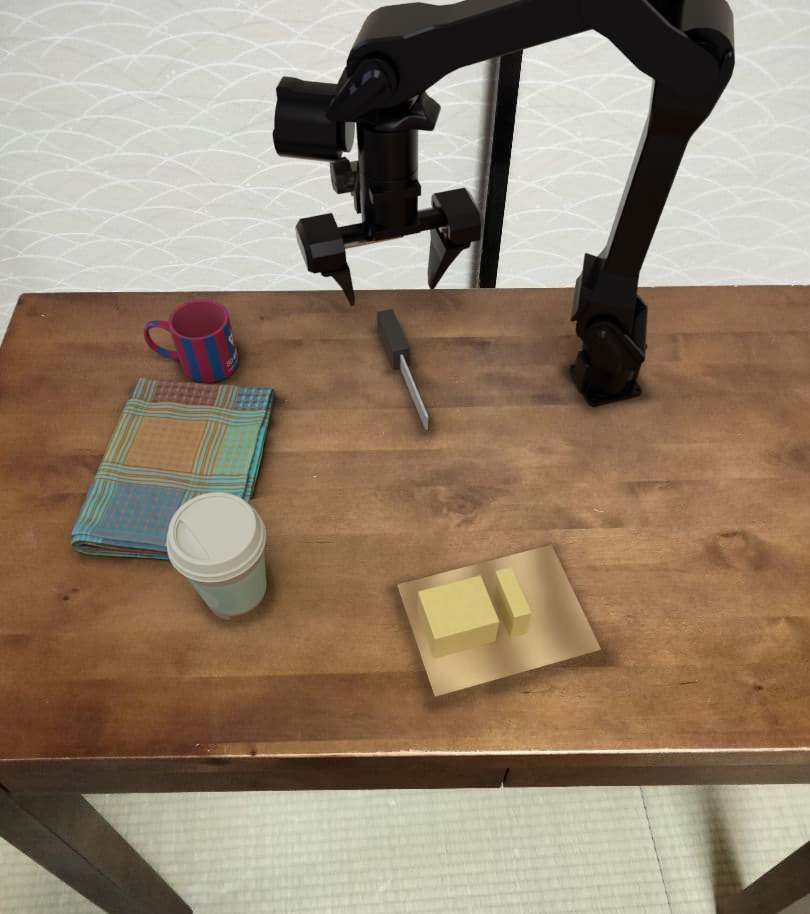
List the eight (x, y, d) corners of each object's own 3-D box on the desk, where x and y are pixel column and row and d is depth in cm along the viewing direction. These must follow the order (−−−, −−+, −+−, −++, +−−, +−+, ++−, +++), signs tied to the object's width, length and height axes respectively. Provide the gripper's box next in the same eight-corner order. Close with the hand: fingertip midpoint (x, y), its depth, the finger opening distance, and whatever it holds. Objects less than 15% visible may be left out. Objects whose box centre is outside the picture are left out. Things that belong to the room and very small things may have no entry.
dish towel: (69, 555, 82) (60, 542, 80) (135, 386, 95) (129, 370, 93) (237, 570, 81) (232, 557, 79) (280, 397, 94) (278, 381, 92)
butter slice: (507, 588, 78) (511, 566, 75) (526, 633, 75) (531, 612, 72) (491, 592, 78) (495, 570, 74) (510, 637, 75) (514, 617, 72)
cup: (231, 386, 95) (220, 342, 89) (148, 379, 95) (131, 334, 90) (244, 346, 98) (234, 301, 93) (164, 339, 99) (149, 294, 93)
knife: (393, 327, 100) (392, 308, 98) (435, 428, 91) (436, 409, 89) (377, 330, 100) (376, 311, 97) (418, 432, 91) (418, 413, 88)
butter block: (477, 596, 78) (480, 574, 74) (495, 641, 75) (499, 621, 72) (417, 612, 77) (417, 591, 73) (433, 659, 74) (434, 639, 71)
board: (549, 552, 82) (551, 544, 81) (598, 656, 76) (601, 649, 74) (397, 592, 80) (396, 584, 78) (434, 703, 73) (434, 696, 72)
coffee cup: (195, 560, 81) (165, 490, 71) (281, 554, 82) (263, 483, 72) (190, 637, 77) (157, 574, 67) (281, 630, 77) (262, 566, 67)
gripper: (453, 104, 83) (448, 236, 96) (274, 135, 80) (293, 266, 93) (491, 164, 77) (480, 296, 90) (299, 200, 75) (316, 331, 88)
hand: (391, 295), depth 91 cm, fingers open, 9 cm apart
